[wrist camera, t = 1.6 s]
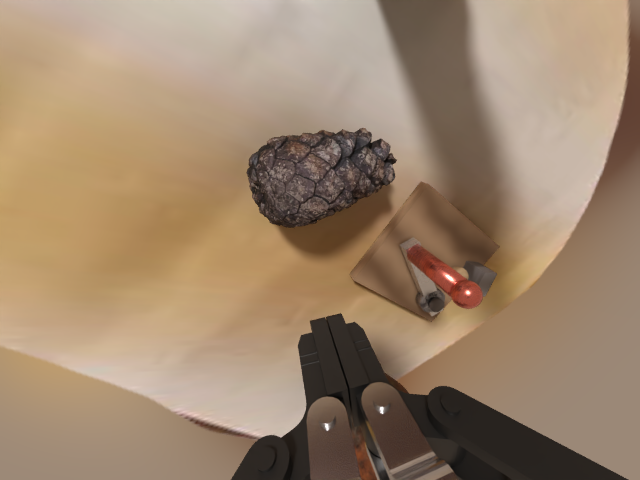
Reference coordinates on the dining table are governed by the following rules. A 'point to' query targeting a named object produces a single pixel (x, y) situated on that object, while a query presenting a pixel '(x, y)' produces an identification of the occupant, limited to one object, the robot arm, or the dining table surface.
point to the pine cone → (317, 174)
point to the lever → (438, 279)
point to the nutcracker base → (435, 236)
